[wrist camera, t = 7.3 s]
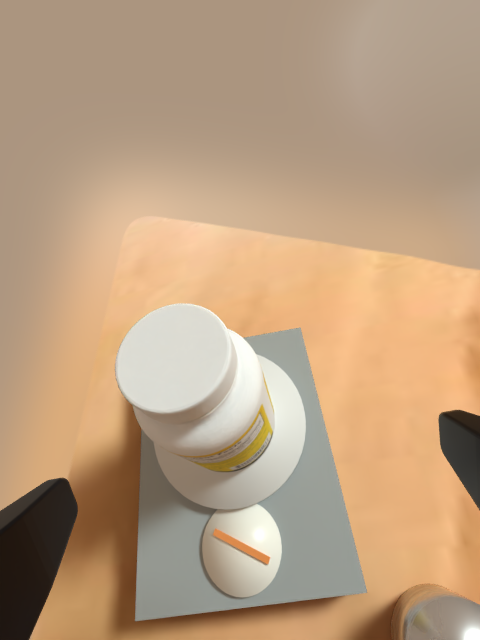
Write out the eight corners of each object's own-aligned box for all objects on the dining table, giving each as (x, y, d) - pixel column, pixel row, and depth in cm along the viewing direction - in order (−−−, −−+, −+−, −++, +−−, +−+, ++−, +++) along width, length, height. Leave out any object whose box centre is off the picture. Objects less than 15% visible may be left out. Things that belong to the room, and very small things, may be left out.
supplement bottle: (195, 374, 21) (127, 281, 13) (280, 384, 20) (266, 288, 11) (172, 465, 18) (66, 423, 10) (269, 483, 17) (239, 452, 9)
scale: (360, 584, 17) (369, 595, 14) (151, 610, 17) (129, 624, 15) (300, 340, 24) (300, 323, 22) (154, 366, 25) (140, 352, 22)
